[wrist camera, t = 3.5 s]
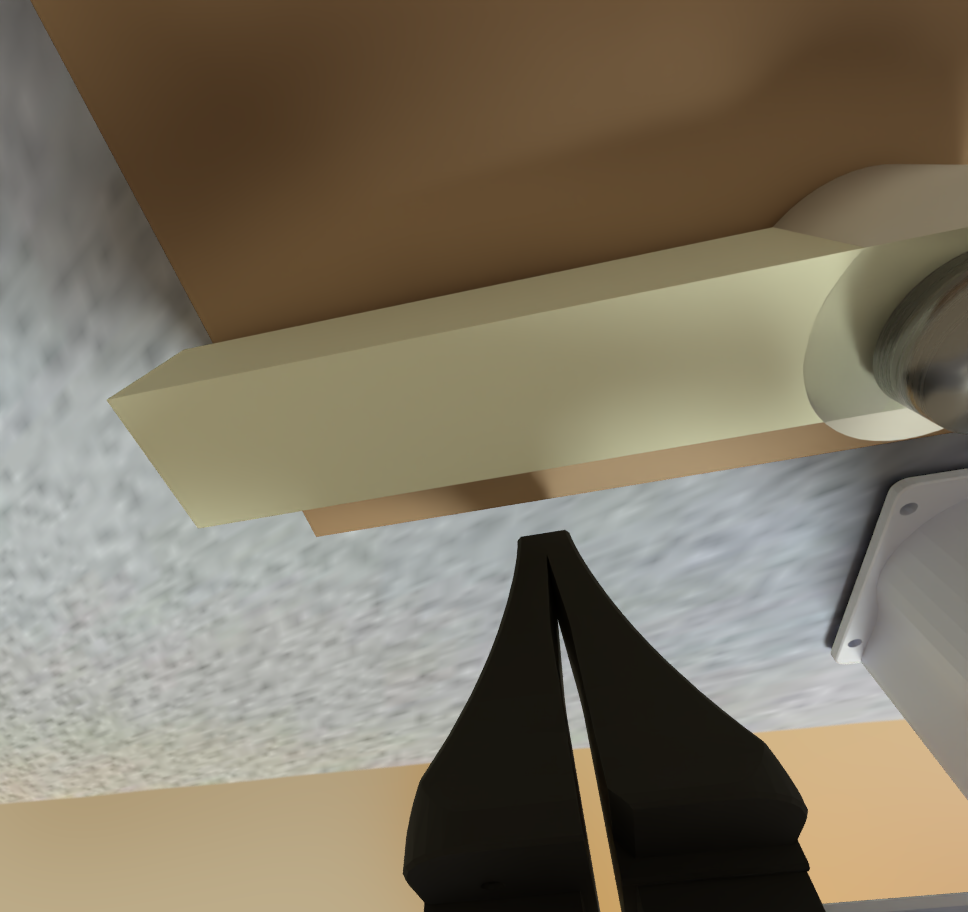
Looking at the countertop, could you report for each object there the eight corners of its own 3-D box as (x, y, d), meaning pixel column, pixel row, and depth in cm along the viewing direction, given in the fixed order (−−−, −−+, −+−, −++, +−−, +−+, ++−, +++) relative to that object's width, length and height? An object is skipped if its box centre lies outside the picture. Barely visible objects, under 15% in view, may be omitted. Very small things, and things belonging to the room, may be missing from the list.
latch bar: (999, 138, 8) (1182, 130, 6) (921, 366, 11) (1032, 417, 8) (165, 317, 10) (79, 362, 8) (260, 483, 12) (215, 552, 10)
